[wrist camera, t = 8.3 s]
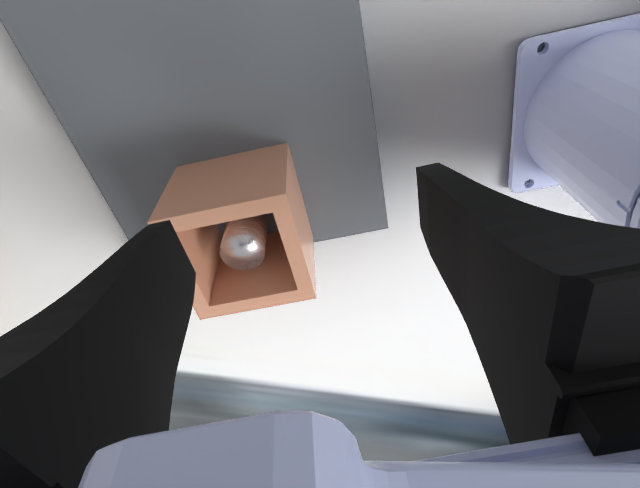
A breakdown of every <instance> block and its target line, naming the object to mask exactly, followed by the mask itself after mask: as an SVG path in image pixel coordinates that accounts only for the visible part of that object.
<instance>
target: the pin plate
mask: <svg viewBox="0 0 640 488" xmlns="http://www.w3.org/2000/svg"><path fill="white" fill-rule="evenodd" d="M0 20H1V22H2V23H3V25H4V27H5V28H6V30H7V32H8V33H9V35H10V37H11V39H12V40H13V42H14V44H15V45H16V47H17V49H18V51H19V52H20V54H21V56H22V57H23V59H24V61H25V63H26V64H27V66H28V68H29V69H30V71H31V73H32V75H33V76H34V78H35V80H36V81H37V83H38V85H39V87H40V88H41V90H42V92H43V93H44V95H45V97H46V99H47V100H48V102H49V104H50V105H51V107H52V109H53V111H54V112H55V114H56V116H57V117H58V119H59V121H60V123H61V124H62V126H63V128H64V129H65V131H66V133H67V135H68V136H69V138H70V140H71V141H72V143H73V145H74V147H75V148H76V150H77V152H78V153H79V155H80V157H81V159H82V160H83V162H84V164H85V165H86V167H87V169H88V171H89V172H90V174H91V176H92V177H93V179H94V181H95V183H96V184H97V186H98V188H99V189H100V191H101V193H102V195H103V196H104V198H105V200H106V201H107V203H108V205H109V207H110V208H111V210H112V212H113V213H114V215H115V217H116V219H117V220H118V222H119V224H120V225H121V227H122V229H123V231H124V232H125V234H126V236H127V237H128V239H129V240H130V239H131V238H132V237H133V236H135V235H136V234H137V233H138V232H139V231H141V230H142V229H143V228H145V227H146V226H148V223H147V222H148V220H149V218H150V216H151V214H152V213H153V211H154V209H155V207H156V205H157V203H158V201H159V199H160V197H161V195H162V194H163V192H164V190H165V188H166V186H167V184H168V182H169V180H170V178H171V176H172V175H173V173H174V171H175V169H176V167H178V166H182V165H187V164H191V163H196V162H201V161H205V160H210V159H214V158H219V157H224V156H228V155H233V154H237V153H242V152H247V151H251V150H256V149H260V148H265V147H270V146H274V145H279V144H283V143H288V145H289V149H290V152H291V156H292V160H293V164H294V167H295V171H296V175H297V179H298V182H299V186H300V190H301V193H302V197H303V201H304V205H305V208H306V212H307V216H308V220H309V223H310V227H311V231H312V235H313V242H319V241H324V240H329V239H334V238H339V237H345V236H350V235H355V234H360V233H365V232H371V231H376V230H381V229H386V228H388V222H387V214H386V206H385V199H384V191H383V183H382V176H381V168H380V160H379V152H378V145H377V137H376V129H375V122H374V114H373V106H372V98H371V91H370V83H369V75H368V68H367V60H366V52H365V45H364V37H363V29H362V21H361V14H360V6H359V0H0ZM216 225H217V228H218V230H219V232H220V235H221V237H222V242H221V246H220V257H221V259H222V260H223V262H224V263H225V264H226V265H228V266H229V267H231V268H233V269H236V270H251V269H254V268H256V267H257V266H259V265H260V264H261V263H262V261H263V259H264V256H265V246H266V236H267V234H272V233H277V232H279V230H278V227H277V224H276V221H275V218H274V214H273V213H268V214H263V215H258V216H254V217H249V218H244V219H239V220H234V221H229V222H224V223H219V224H216Z"/></svg>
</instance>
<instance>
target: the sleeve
mask: <svg viewBox="0 0 640 488" xmlns="http://www.w3.org/2000/svg"><path fill="white" fill-rule="evenodd" d="M268 213H273V214H274V218H275V221H276V224H277V227H278V230H279V232H277V233H272V234H267V236H266V246H265V256H264V259H263V261H262V263H261V264H260V265H259V266H257V267H256V268H254V269H251V270H236V269H233V268H231V267H229V266H228V265H226V264H225V263H224V262H223V260H222V259H221V257H220V246H221V242H222V237H221V235H220V232H219V230H218V228H217V225H216V224H219V223H224V222H229V221H234V220H239V219H244V218H249V217H254V216H258V215H263V214H268ZM167 220H170V222H171V224H172V226H173V228H174V230H175V232H176V234H177V236H178V238H179V240H180V242H181V244H182V246H183V248H184V250H185V252H186V254H187V256H188V258H189V260H190V262H191V264H192V266H193V268H194V270H195V272H196V281H195V293H194V302H193V308H194V310H195V311H196V313H197V315H198V317H199V319H200V320H201V319H206V318H212V317H217V316H223V315H228V314H234V313H239V312H244V311H250V310H255V309H261V308H266V307H271V306H277V305H282V304H288V303H293V302H299V301H304V300H309V299H315V298H316V283H315V265H314V247H313V235H312V231H311V227H310V223H309V220H308V216H307V212H306V208H305V205H304V201H303V197H302V193H301V190H300V186H299V182H298V179H297V175H296V171H295V167H294V164H293V160H292V156H291V152H290V149H289V145H288V143H283V144H279V145H274V146H270V147H265V148H260V149H256V150H251V151H247V152H242V153H237V154H233V155H228V156H224V157H219V158H214V159H210V160H205V161H201V162H196V163H191V164H187V165H182V166H178V167H176V169H175V171H174V173H173V175H172V176H171V178H170V180H169V182H168V184H167V186H166V188H165V190H164V192H163V194H162V195H161V197H160V199H159V201H158V203H157V205H156V207H155V209H154V211H153V213H152V214H151V216H150V218H149V220H148V222H147V223H148V225H149V224H153V223H157V222H162V221H167Z"/></svg>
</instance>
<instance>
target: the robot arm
mask: <svg viewBox="0 0 640 488" xmlns="http://www.w3.org/2000/svg"><path fill="white" fill-rule="evenodd" d="M543 42H545V47H544V49H543V50H542V51H541V52H539V53H537V49H538V46H539V45H540V44H541V43H543ZM416 172H417V186H418V200H419V213H420V227H421V230H422V233H423V236H424V239H425V242H426V244H427V247H428V250H429V252H430V255H431V257H432V259H433V261H434V263H435V265H436V267H437V268H438V270H439V272H440V274H441V276H442V278H443V280H444V282H445V284H446V285H447V287H448V289H449V291H450V293H451V295H452V297H453V299H454V300H455V302H456V304H457V306H458V308H459V310H460V312H461V314H462V316H463V318H464V320H465V322H466V324H467V327H468V329H469V332H470V334H471V337H472V340H473V342H474V345H475V347H476V350H477V352H478V355H479V357H480V360H481V363H482V366H483V368H484V371H485V374H486V376H487V379H488V382H489V384H490V387H491V390H492V393H493V396H494V398H495V401H496V404H497V407H498V410H499V413H500V415H501V418H502V421H503V424H504V427H505V430H506V433H507V436H508V439H509V442H510V445H505V446H499V447H493V448H487V449H481V450H475V451H469V452H463V453H457V454H451V455H445V456H439V457H433V458H427V459H421V460H415V461H363V459H362V457H361V454H360V450H359V447H358V443H357V440H356V438H355V437H354V436H353V435H352V433H351V432H350V431H349V430H348V429H347V428H346V427H345V425H344V424H343V423H342V422H340V421H338V420H337V419H334V418H331V417H328V416H325V415H322V414H319V413H316V412H312V411H309V410H308V411H275V412H270V413H264V414H258V415H253V416H247V417H242V418H236V419H230V420H225V421H219V422H214V423H208V424H202V425H197V426H191V427H186V428H180V429H174V430H169V422H170V412H171V404H172V396H173V389H174V381H175V376H176V371H177V366H178V362H179V358H180V354H181V350H182V347H183V343H184V339H185V335H186V331H187V327H188V323H189V319H190V315H191V311H192V306H193V302H194V293H195V281H196V272H195V270H194V268H193V266H192V264H191V262H190V260H189V258H188V256H187V254H186V252H185V250H184V248H183V246H182V244H181V242H180V240H179V238H178V236H177V234H176V232H175V230H174V228H173V226H172V224H171V222H170V220H167V221H162V222H157V223H153V224H149V225H148V226H146V227H145V228H143V229H142V230H141V231H139V232H138V233H137V234H136V235H135V236H133V237H132V238H131V239H130V240H129V241H128V242H126V243H125V244H124V245H123V246H122V247H121V248H120V249H119V250H117V251H116V252H115V253H114V254H113V255H112V256H111V257H109V258H108V259H107V260H106V261H105V262H104V263H103V264H101V265H100V266H99V267H98V268H97V269H96V270H94V271H93V272H92V273H91V274H89V275H88V276H87V277H86V278H85V279H83V280H82V281H81V282H80V283H79V284H77V285H76V286H75V287H74V288H72V289H71V290H70V291H69V292H67V293H66V294H65V295H63V296H62V297H61V298H59V299H58V300H56V301H55V302H54V303H52V304H51V305H49V306H48V307H46V308H45V309H44V310H42V311H41V312H39V313H38V314H36V315H35V316H33V317H32V318H30V319H28V320H27V321H25V322H24V323H22V324H20V325H19V326H17V327H15V328H14V329H12V330H10V331H9V332H7V333H5V334H4V335H2V336H1V337H0V488H640V13H638V14H633V15H629V16H625V17H620V18H616V19H611V20H607V21H602V22H598V23H593V24H589V25H584V26H580V27H575V28H571V29H566V30H562V31H557V32H553V33H548V34H544V35H539V36H535V37H530V38H528V39H525V40H524V41H523V42H522V43H521V44H520V46H519V47H518V51H517V64H516V78H515V92H514V107H513V121H512V136H511V150H510V164H509V179H508V187H509V188H510V189H511V191H512V192H514V193H521V192H526V191H531V190H537V189H542V188H547V187H552V186H557V185H560V186H561V187H562V188H563V189H564V190H565V191H566V192H567V193H568V194H569V195H570V196H572V197H573V198H574V199H575V200H576V201H577V202H578V203H579V204H580V205H581V206H582V207H583V208H584V209H585V210H586V211H588V212H589V213H590V214H591V215H592V216H593V217H594V218H595V219H596V220H597V221H598V222H595V221H590V220H586V219H581V218H577V217H572V216H568V215H564V214H560V213H556V212H553V211H549V210H546V209H543V208H540V207H536V206H533V205H530V204H527V203H524V202H522V201H519V200H516V199H514V198H511V197H509V196H506V195H504V194H501V193H499V192H497V191H495V190H492V189H490V188H488V187H486V186H484V185H482V184H480V183H477V182H475V181H473V180H471V179H470V178H468V177H466V176H464V175H462V174H460V173H458V172H456V171H454V170H452V169H450V168H448V167H446V166H444V165H442V164H440V163H434V164H430V165H425V166H420V167H416ZM529 179H531V181H530V182H529V183H528V184H526V185H524V184H525V182H526V181H527V180H529Z"/></svg>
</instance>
